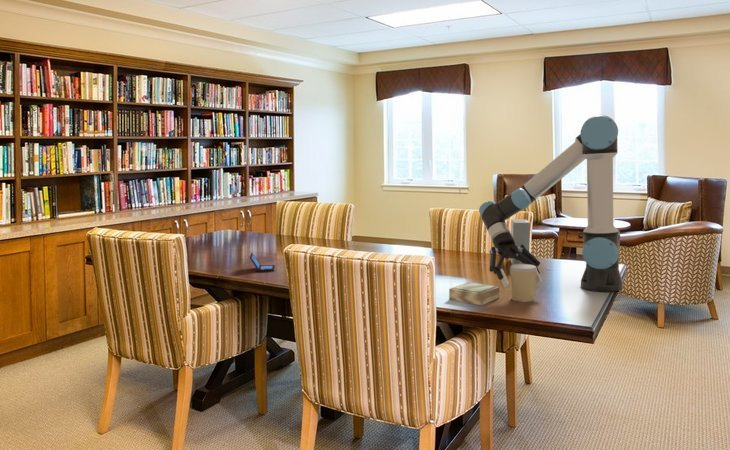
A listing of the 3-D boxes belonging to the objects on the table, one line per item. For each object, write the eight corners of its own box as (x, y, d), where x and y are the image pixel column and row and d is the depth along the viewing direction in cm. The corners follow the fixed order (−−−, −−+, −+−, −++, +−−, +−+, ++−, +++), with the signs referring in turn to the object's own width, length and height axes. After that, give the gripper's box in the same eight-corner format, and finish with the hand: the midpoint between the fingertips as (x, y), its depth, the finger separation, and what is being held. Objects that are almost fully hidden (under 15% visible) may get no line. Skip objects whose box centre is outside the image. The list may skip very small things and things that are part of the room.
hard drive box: (529, 265, 272) (530, 222, 270) (512, 265, 274) (512, 222, 271) (526, 259, 287) (526, 218, 285) (509, 259, 289) (510, 218, 286)
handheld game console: (274, 272, 268) (273, 256, 267) (250, 273, 267) (249, 257, 266) (275, 267, 281) (274, 251, 280) (252, 267, 280) (251, 252, 279)
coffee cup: (539, 297, 215) (540, 265, 213) (531, 303, 207) (532, 269, 205) (514, 294, 220) (514, 262, 218) (505, 300, 212) (506, 267, 210)
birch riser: (499, 297, 215) (499, 286, 215) (481, 305, 206) (481, 293, 205) (468, 292, 224) (468, 281, 223) (449, 299, 214) (449, 287, 214)
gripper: (525, 241, 231) (548, 287, 218) (468, 245, 223) (488, 293, 210) (534, 229, 225) (557, 275, 213) (475, 233, 217) (497, 281, 205)
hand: (523, 284), depth 212 cm, fingers open, 13 cm apart
